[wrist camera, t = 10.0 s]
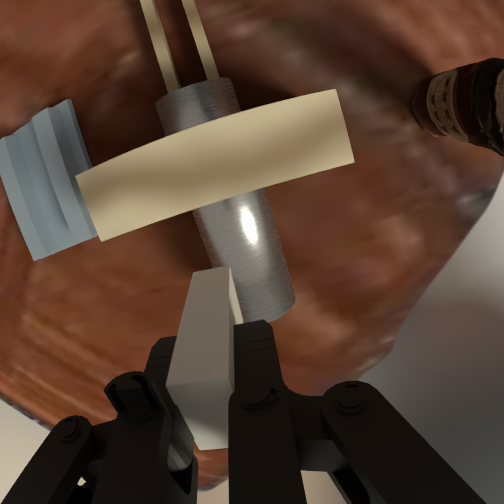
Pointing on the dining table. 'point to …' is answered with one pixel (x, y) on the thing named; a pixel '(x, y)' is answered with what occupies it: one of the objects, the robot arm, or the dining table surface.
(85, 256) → the dining table surface
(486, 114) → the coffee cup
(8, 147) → the v block
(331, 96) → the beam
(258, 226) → the axle
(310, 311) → the dining table surface
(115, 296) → the dining table surface
